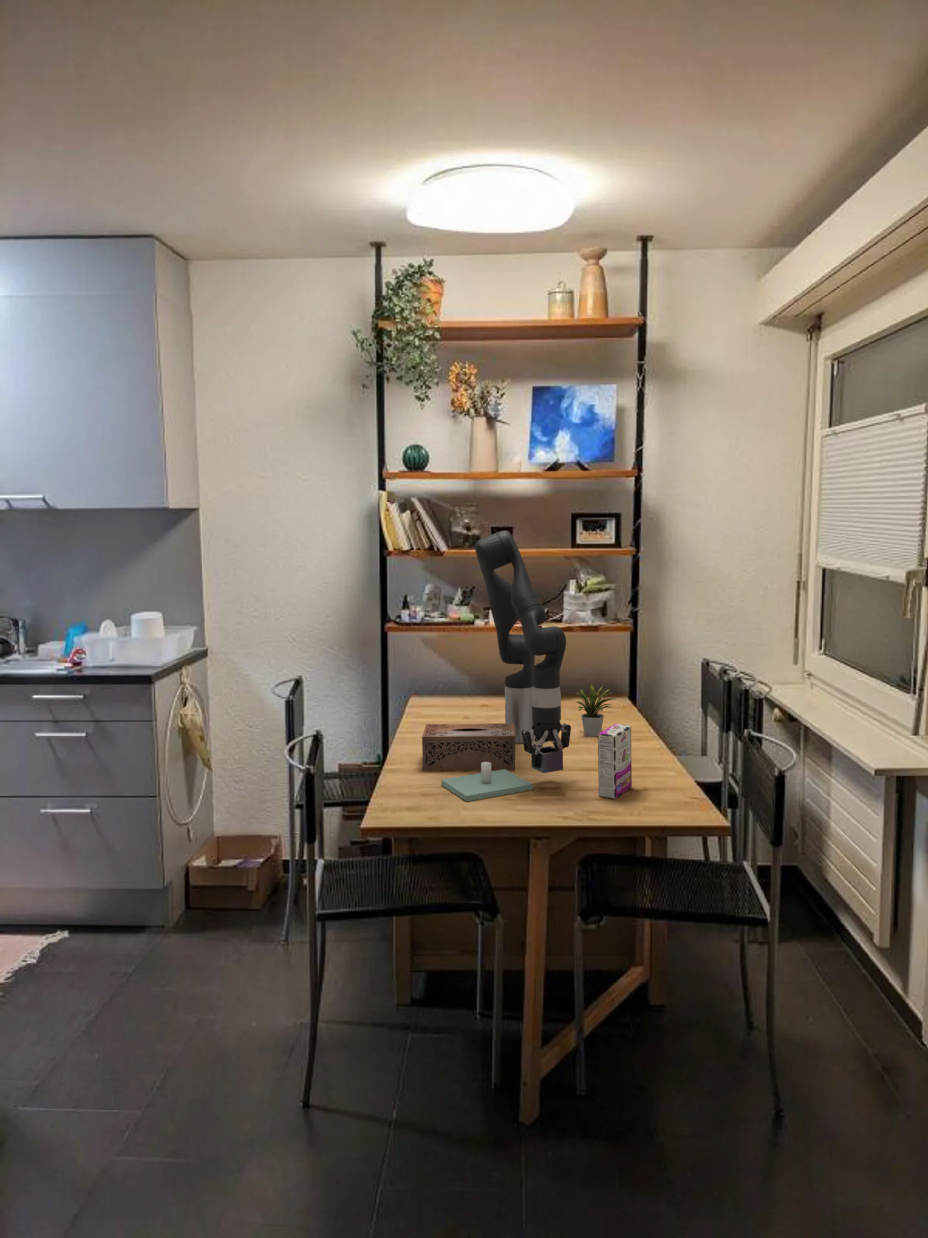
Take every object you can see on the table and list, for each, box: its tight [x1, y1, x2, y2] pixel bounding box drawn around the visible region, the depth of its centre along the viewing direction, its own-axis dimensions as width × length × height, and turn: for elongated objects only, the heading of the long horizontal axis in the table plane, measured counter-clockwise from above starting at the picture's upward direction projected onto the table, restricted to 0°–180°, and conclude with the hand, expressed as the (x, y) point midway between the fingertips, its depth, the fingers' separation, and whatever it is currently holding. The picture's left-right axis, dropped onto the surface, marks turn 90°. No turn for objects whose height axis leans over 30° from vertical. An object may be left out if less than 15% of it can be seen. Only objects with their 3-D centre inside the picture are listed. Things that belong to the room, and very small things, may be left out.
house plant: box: [575, 683, 615, 738], centre depth 277 cm, size 14×14×16 cm
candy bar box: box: [597, 723, 633, 800], centre depth 222 cm, size 11×5×16 cm, turn 148°
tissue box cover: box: [421, 722, 516, 772], centre depth 250 cm, size 26×14×10 cm, turn 88°
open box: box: [530, 745, 564, 774], centre depth 230 cm, size 6×6×5 cm
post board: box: [441, 762, 534, 802], centre depth 228 cm, size 19×15×6 cm
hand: (547, 765), depth 230 cm, fingers closed on open box, 6 cm apart
